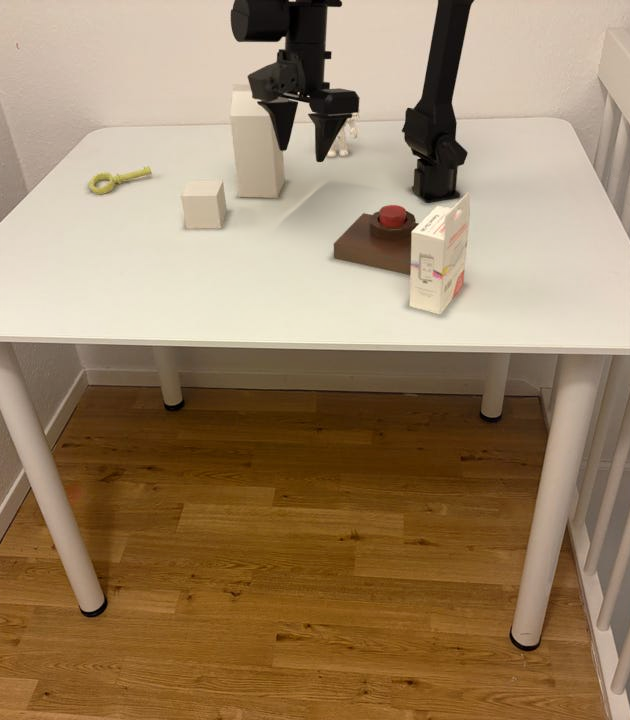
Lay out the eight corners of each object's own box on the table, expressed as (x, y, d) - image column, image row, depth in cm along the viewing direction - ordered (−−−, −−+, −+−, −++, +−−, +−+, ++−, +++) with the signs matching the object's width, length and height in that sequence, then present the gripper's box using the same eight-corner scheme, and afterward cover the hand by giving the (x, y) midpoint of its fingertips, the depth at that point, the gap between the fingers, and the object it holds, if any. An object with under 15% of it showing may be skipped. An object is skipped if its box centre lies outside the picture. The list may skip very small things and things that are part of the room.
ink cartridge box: (431, 277, 106) (438, 183, 97) (464, 285, 104) (473, 190, 95) (406, 306, 100) (411, 209, 91) (440, 316, 98) (448, 217, 89)
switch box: (363, 227, 119) (363, 202, 117) (438, 242, 114) (440, 216, 111) (333, 259, 112) (333, 233, 109) (413, 276, 106) (414, 249, 104)
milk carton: (277, 198, 130) (268, 91, 118) (239, 197, 131) (226, 91, 120) (285, 182, 135) (277, 77, 124) (248, 181, 137) (237, 77, 125)
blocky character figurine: (359, 148, 146) (359, 88, 138) (360, 156, 142) (360, 94, 135) (314, 151, 146) (311, 91, 139) (314, 159, 143) (312, 97, 136)
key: (156, 178, 140) (154, 167, 139) (96, 196, 136) (93, 186, 134) (141, 167, 145) (139, 156, 144) (83, 184, 140) (80, 174, 139)
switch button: (385, 213, 114) (385, 203, 113) (409, 217, 112) (409, 207, 111) (375, 224, 111) (375, 214, 110) (399, 229, 110) (400, 218, 108)
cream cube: (227, 212, 127) (223, 180, 123) (220, 228, 122) (216, 195, 119) (193, 212, 128) (188, 180, 124) (186, 228, 123) (180, 195, 119)
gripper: (221, 38, 104) (222, 149, 111) (298, 48, 90) (294, 174, 97) (284, 37, 110) (281, 143, 117) (366, 47, 96) (357, 166, 103)
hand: (300, 156), depth 108 cm, fingers open, 9 cm apart
